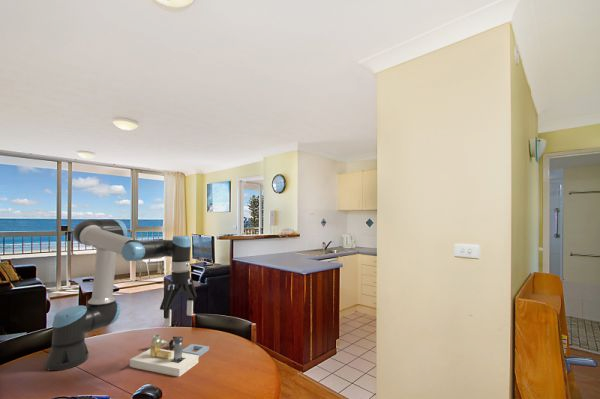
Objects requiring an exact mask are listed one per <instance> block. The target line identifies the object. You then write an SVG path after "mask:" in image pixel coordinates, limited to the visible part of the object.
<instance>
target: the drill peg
mask: <svg viewBox="0 0 600 399" xmlns="http://www.w3.org/2000/svg"><path fill="white" fill-rule="evenodd" d="M175 337H176V338H175V339H174V338H173V339H174V345H173V347H174V349H173V351H174V362H175V363H180V362H181V361H182V350H183V340H184V338H183V336H175Z"/></svg>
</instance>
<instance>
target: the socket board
mask: <svg viewBox="0 0 600 399" xmlns="http://www.w3.org/2000/svg"><path fill="white" fill-rule="evenodd" d="M150 350H151V348H149V349H146V350H145V351H143V352H141V353H139V354H137V355H135V356H134V357H132V358H130V359H129V367H130V368H134V369H139V370H144V371H148V372H149V371H150V372H153V373H158V374H164V375H168V376H173V377H179V378H180V377H181V376H182V375H184V374H185V373H187V372H188V371H190V369H192V368H193V367H194V366H196V365H197V364H198V363H199V358H200V357H199V355H193V354H187V353H182V361H181V362H180V363H175V362H174V350H170V349H168V350H167V349H164V348H160V350H162V351H168V352H172V353H171V357H170V358H168V359H166V358H161V357H151V356H150Z"/></svg>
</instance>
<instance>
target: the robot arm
mask: <svg viewBox="0 0 600 399" xmlns="http://www.w3.org/2000/svg"><path fill="white" fill-rule="evenodd" d="M72 235H73V239H74V240H75V242H78V244H81V245H83V246H88V247H89V246H90V247H91V246H93V248H94V249H96V253H95V264H94V272H93V282H92V291H91V292H92V294H91V298H90V299H89V300H88V301H87V306H86V305H75V306H70V307H65V309H62V310H60V311H58V312H56V314H55V315H54V317H53V322H52V324H51V325H52V335H51V348H50V351H49V353H48V356H47V357H46V360H45V363H44V369H45V368H46V369H49V370H58V371H63V369H64V370H67V369H72V368H74V367H77V366H79V365H81V364H83V363H85V362H86V361H87V360H88V358H89V353H90V352H89V349H88V347H87V344H86V341H85V338H86V334H87V333H90V332H94V331H95V330H96V331H97V330H99V329H102V328H106V327H108V326H110V325H112V324H113V323H115V322H117V320H118V319H119V316H120V313H121V306H120V303H119V302H118V301H117V299H116V297H114V296H113V295H114V294H113V293H114V282H115V275H116V274H115V272H116V263H117V262H116V261H117V254H119V255H121V257H122V258H123V259H124V261H126V262H137V261H142V260H148V259H157V258H163V257H164V258H165V257H168V258H169V257H170V258H171V273H170V274H171V275H170V276H171V278H170V280H171V281H172V283H171V284H167V285H166V290H165V292H164V296H163V298H162V301H161V305H160V307H159V310H161V311H163V319H164V323H163V324H164V325H163V326H164V327H172V309H171V307H172V306H173V304H174V301H175V300H176V298H177V297H178V296H179V294H181V293H184V296H186V298H187V299H188V300H187V301H186V316H189V317H190V316H191V317H192V316H194V301H196V300H197V297H198V294H197V291H196V289H195V285H194V280H193V279H192V278H190V277H191V275H190V274H191V272H190V271H191V270H190V269H191V248H192V247H191V246H192V242H191V236H190V235H173V237H172V239H164V238H163V239H155V240H143V241H142V240H137V239H135V238H132V237H128V228H127V226H126V224H125V223H124V222H123V221H122V220H119V219H106V218H105V219H86V220H83V221H82V220H81V222H79V223H78V224H77V225H75V227H74V228H73V232H72ZM46 369H45V370H46ZM49 370H48V371H49Z"/></svg>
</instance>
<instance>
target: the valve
mask: <svg viewBox="0 0 600 399" xmlns="http://www.w3.org/2000/svg"><path fill="white" fill-rule="evenodd" d="M176 337H177V336H172V339H170V341H168V340H165V339H161V334H158V333H156V334H154V335H152V340H151V344H150V346H151V345H152V344H154V343H156V342H159V343H161V347H164V346H168V345H169V348H170V349H169V350H170V351H174V339H175V338H176Z"/></svg>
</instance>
